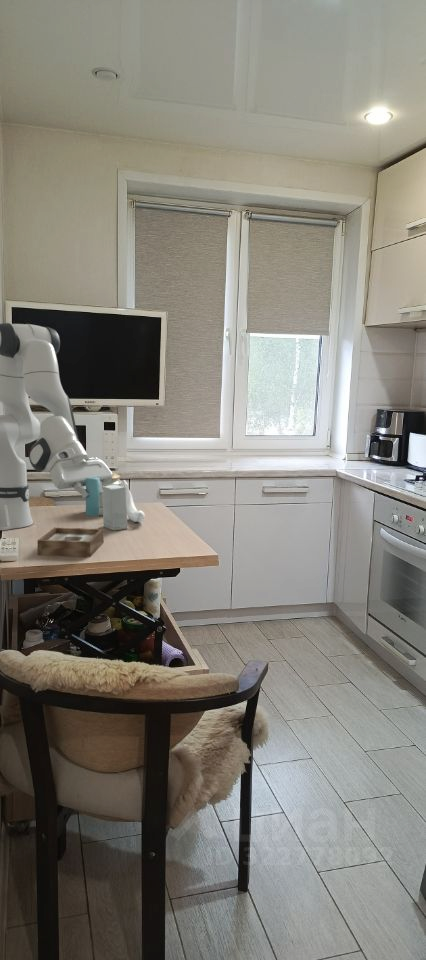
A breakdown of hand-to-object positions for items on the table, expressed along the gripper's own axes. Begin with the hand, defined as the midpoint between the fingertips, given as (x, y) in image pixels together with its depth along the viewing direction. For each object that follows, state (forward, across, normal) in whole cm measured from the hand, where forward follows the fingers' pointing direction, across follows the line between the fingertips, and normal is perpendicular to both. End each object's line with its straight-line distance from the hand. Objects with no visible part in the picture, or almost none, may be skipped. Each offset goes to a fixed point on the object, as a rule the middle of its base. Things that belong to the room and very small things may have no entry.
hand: (93, 495), depth 193 cm
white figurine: (-2, -37, -27) cm, 46 cm away
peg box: (+7, +1, -19) cm, 20 cm away
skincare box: (-1, -26, -26) cm, 36 cm away
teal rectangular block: (+4, 0, -5) cm, 6 cm away
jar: (-16, -40, -40) cm, 59 cm away
